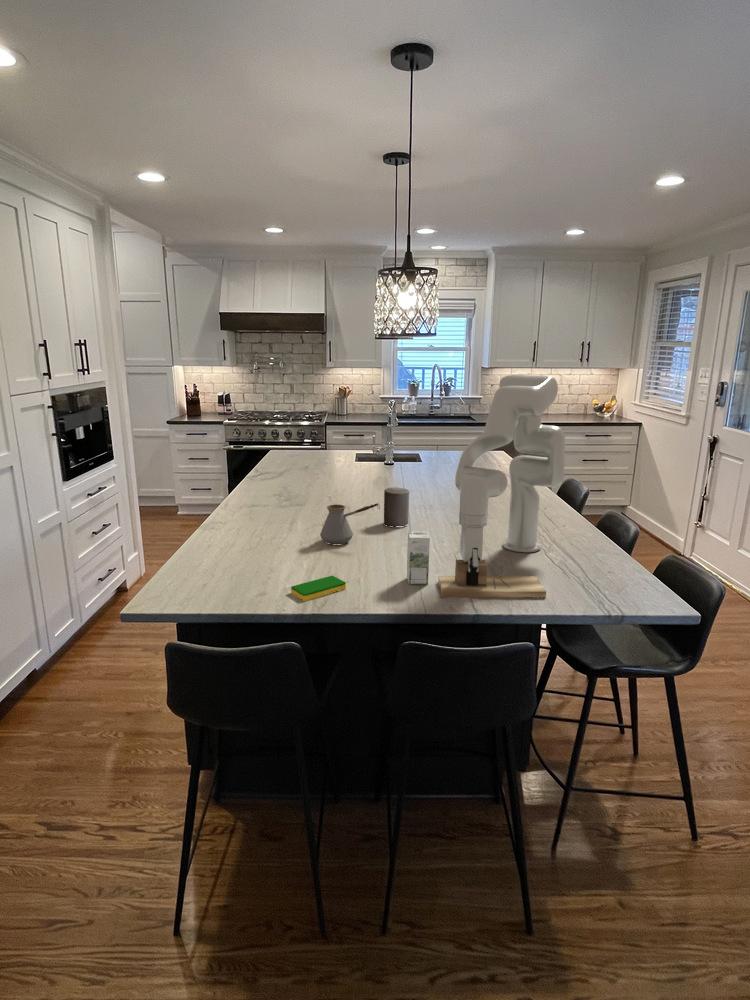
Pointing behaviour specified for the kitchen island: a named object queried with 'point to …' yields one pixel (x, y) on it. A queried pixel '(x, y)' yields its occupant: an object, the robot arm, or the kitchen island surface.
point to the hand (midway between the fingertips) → (470, 580)
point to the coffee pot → (339, 524)
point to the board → (493, 587)
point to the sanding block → (463, 568)
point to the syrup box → (418, 558)
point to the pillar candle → (396, 506)
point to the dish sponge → (318, 588)
